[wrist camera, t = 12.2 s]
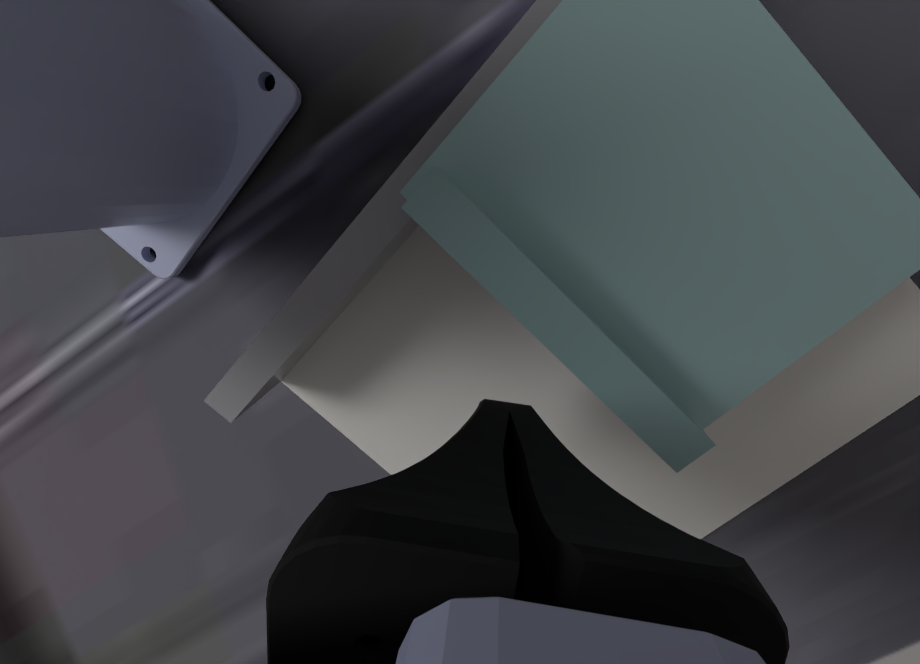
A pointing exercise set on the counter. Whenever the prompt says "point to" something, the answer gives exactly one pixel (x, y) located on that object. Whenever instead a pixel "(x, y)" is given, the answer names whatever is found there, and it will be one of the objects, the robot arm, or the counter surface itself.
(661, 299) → the cover
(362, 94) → the counter surface
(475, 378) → the housing
